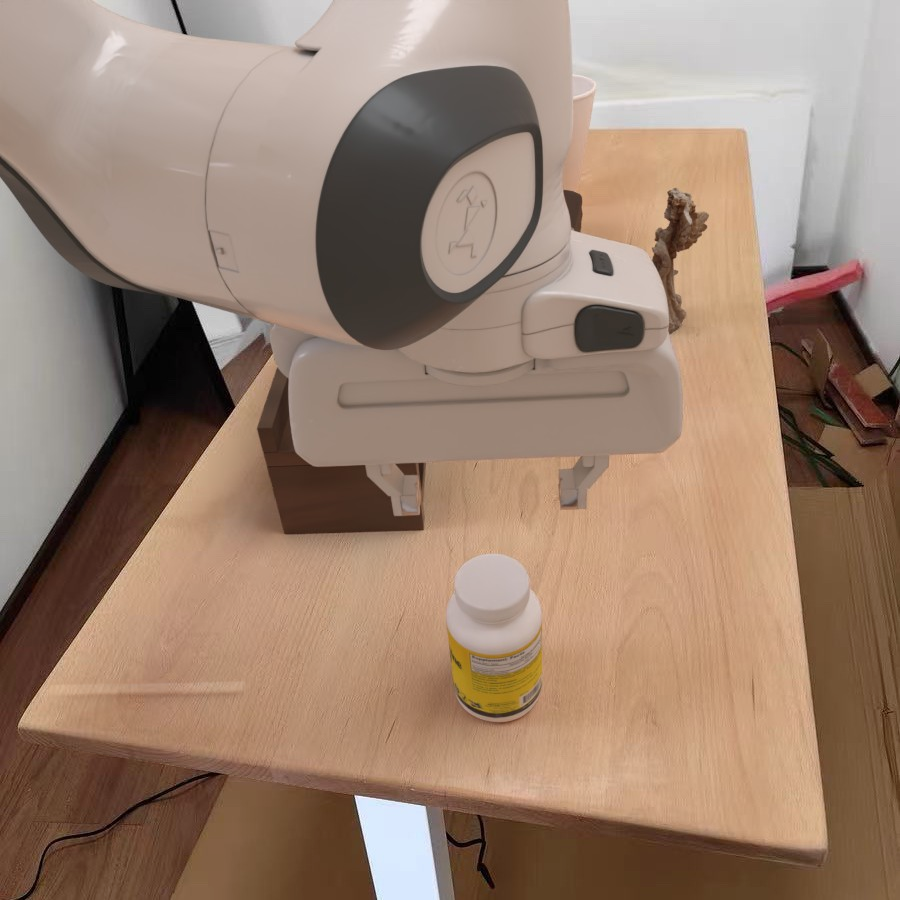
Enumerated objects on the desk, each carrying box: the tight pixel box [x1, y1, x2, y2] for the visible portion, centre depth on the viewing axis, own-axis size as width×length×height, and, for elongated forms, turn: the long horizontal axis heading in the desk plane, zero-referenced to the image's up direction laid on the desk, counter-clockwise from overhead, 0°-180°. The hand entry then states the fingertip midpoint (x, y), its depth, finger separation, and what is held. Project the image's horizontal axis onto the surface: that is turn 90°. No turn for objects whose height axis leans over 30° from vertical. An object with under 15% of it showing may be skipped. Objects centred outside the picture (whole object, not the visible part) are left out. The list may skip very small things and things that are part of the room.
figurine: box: [651, 187, 710, 334], centre depth 92 cm, size 7×6×15 cm
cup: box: [563, 73, 598, 193], centre depth 119 cm, size 12×12×16 cm
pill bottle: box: [445, 553, 543, 723], centre depth 57 cm, size 6×6×11 cm
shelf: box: [256, 366, 427, 535], centre depth 81 cm, size 28×12×11 cm, turn 178°
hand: (489, 505), depth 50 cm, fingers open, 8 cm apart
